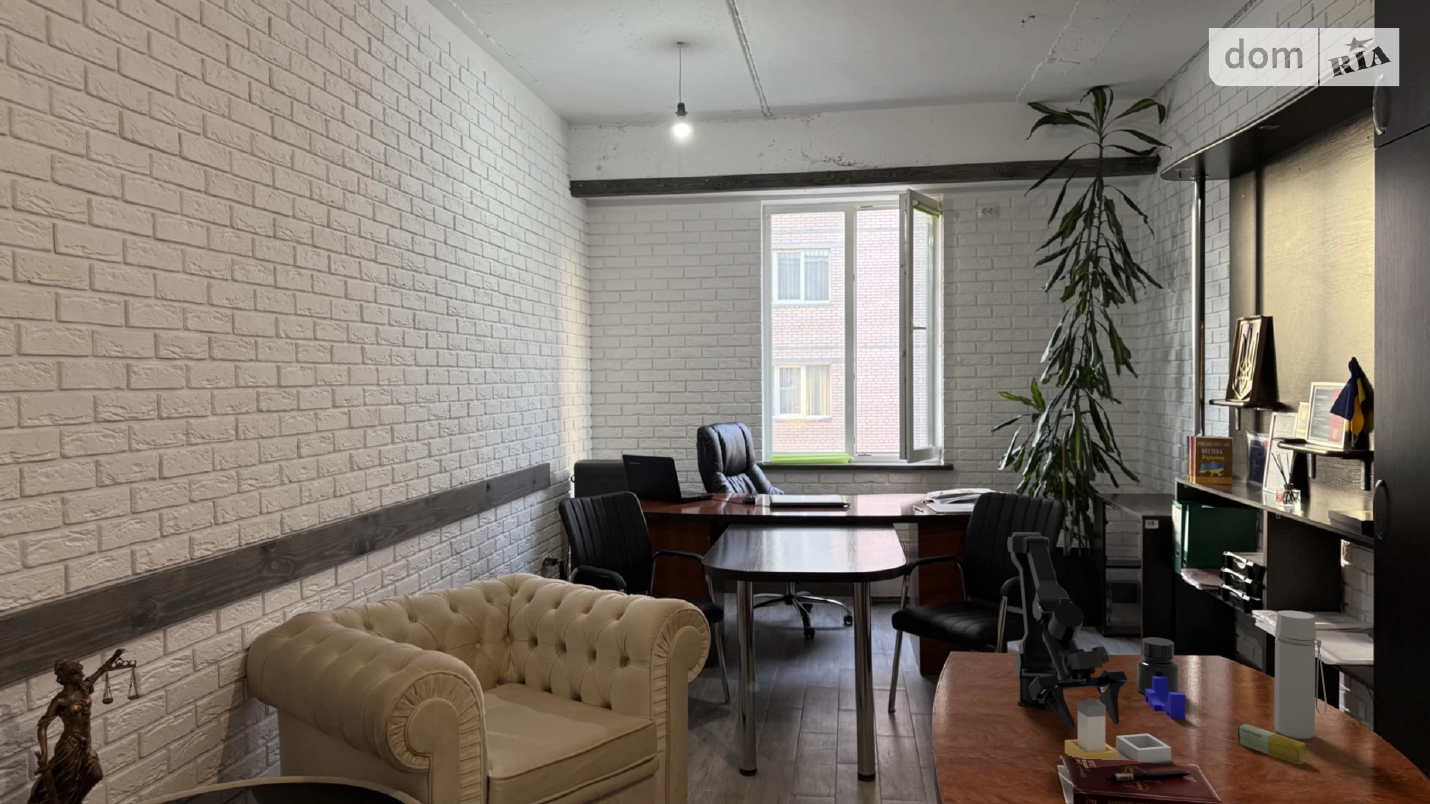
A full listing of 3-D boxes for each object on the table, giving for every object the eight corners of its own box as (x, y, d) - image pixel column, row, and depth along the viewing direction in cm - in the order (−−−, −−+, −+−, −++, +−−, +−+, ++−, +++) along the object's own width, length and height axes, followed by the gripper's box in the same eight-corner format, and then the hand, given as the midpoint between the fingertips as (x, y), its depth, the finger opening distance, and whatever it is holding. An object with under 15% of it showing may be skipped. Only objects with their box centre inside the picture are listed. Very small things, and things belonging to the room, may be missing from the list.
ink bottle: (1182, 689, 215) (1182, 639, 214) (1179, 701, 207) (1179, 649, 207) (1138, 682, 220) (1138, 633, 220) (1132, 693, 212) (1132, 643, 212)
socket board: (1086, 772, 171) (1086, 755, 171) (1063, 754, 179) (1063, 739, 179) (1172, 764, 174) (1172, 748, 174) (1146, 747, 182) (1146, 732, 182)
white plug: (1087, 763, 173) (1087, 706, 173) (1077, 755, 177) (1077, 699, 177) (1105, 762, 174) (1105, 705, 174) (1094, 754, 178) (1094, 698, 177)
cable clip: (1145, 701, 208) (1145, 675, 208) (1165, 702, 207) (1165, 676, 207) (1163, 721, 196) (1163, 694, 196) (1185, 722, 195) (1185, 694, 195)
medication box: (1236, 744, 183) (1236, 725, 183) (1244, 741, 185) (1244, 722, 185) (1299, 766, 173) (1298, 745, 173) (1306, 763, 174) (1306, 742, 174)
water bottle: (1278, 738, 185) (1278, 617, 185) (1270, 724, 193) (1270, 608, 192) (1331, 744, 182) (1331, 621, 181) (1321, 730, 189) (1321, 611, 189)
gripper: (1035, 634, 177) (1066, 710, 167) (1123, 629, 180) (1158, 703, 170) (1016, 661, 185) (1044, 736, 175) (1100, 656, 188) (1132, 729, 178)
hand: (1095, 725), depth 174 cm, fingers open, 9 cm apart
